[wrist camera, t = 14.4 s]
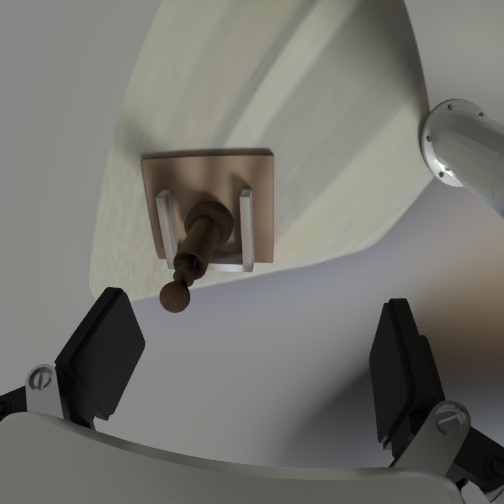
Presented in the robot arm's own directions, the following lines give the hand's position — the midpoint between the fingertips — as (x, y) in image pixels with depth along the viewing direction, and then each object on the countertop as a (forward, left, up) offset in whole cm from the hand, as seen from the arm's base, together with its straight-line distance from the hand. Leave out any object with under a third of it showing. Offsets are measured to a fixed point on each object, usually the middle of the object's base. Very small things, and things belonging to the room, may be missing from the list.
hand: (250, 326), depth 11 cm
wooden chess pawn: (+9, +11, -31) cm, 35 cm away
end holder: (+10, +10, -32) cm, 35 cm away
